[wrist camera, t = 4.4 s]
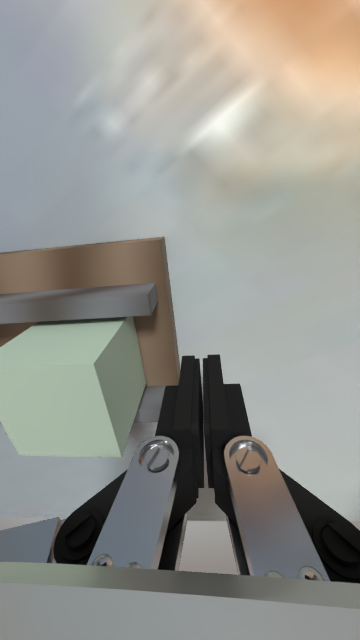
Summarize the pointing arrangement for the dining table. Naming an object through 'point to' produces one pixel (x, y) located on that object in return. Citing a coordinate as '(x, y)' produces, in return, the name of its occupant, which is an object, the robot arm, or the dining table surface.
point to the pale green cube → (71, 387)
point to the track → (98, 300)
